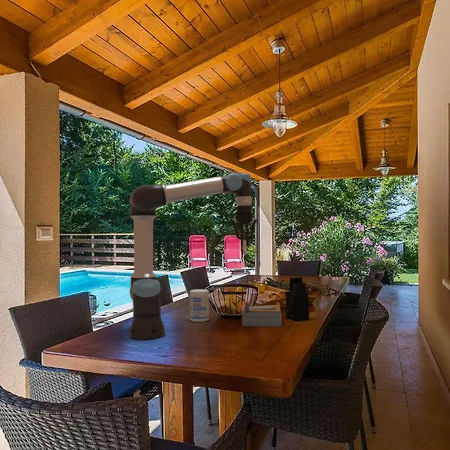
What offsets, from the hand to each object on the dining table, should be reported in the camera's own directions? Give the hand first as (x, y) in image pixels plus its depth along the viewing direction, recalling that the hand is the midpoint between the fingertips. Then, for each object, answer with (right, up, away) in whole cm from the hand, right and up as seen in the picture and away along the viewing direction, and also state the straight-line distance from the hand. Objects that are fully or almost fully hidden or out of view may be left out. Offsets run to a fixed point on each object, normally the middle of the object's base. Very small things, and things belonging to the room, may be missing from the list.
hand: (245, 253), depth 208 cm
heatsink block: (+8, -32, -9) cm, 34 cm away
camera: (+25, -32, +1) cm, 41 cm away
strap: (+8, -25, -9) cm, 28 cm away
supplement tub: (-22, -33, +1) cm, 40 cm away
